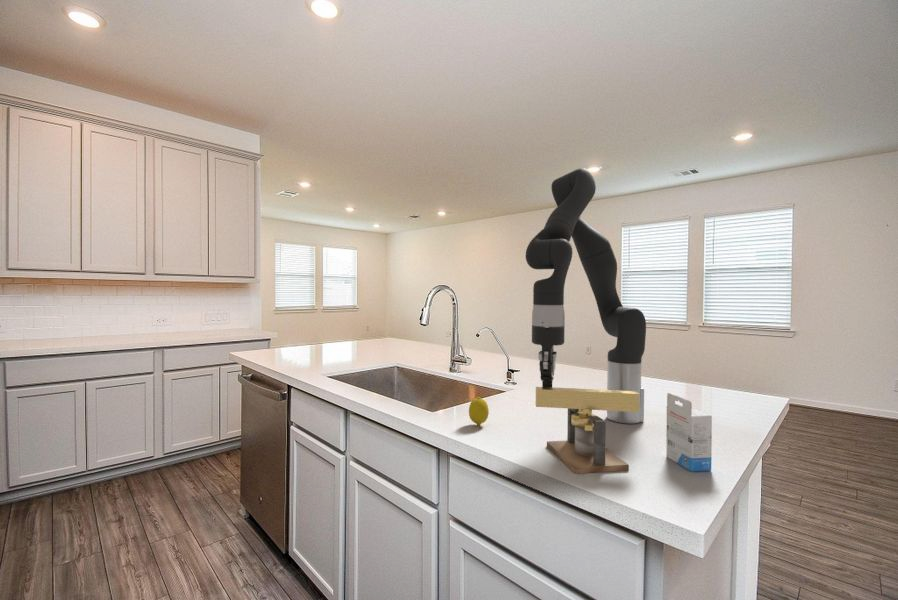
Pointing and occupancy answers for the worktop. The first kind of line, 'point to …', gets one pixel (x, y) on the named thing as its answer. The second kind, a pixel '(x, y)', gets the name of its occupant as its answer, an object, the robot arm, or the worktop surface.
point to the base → (585, 460)
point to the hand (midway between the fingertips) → (547, 396)
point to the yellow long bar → (587, 402)
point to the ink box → (688, 435)
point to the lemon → (478, 411)
